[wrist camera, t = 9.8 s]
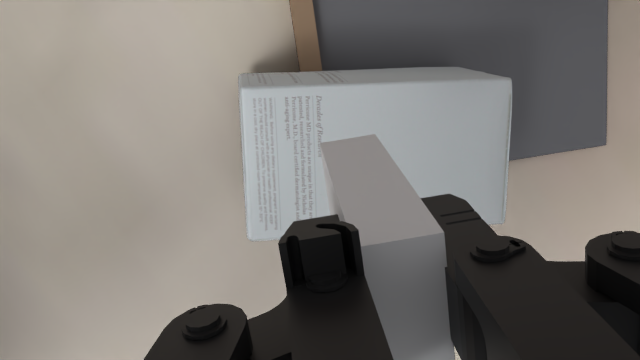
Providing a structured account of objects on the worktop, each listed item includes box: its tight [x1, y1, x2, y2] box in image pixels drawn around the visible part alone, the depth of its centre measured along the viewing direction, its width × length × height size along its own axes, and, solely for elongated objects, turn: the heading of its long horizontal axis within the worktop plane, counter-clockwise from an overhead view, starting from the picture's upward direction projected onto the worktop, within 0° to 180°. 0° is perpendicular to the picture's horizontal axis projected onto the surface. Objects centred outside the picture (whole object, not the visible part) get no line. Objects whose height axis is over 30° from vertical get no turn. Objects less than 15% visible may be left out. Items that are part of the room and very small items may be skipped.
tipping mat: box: [289, 0, 608, 161], centre depth 34 cm, size 18×14×1 cm
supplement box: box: [238, 67, 512, 241], centre depth 31 cm, size 7×7×13 cm
